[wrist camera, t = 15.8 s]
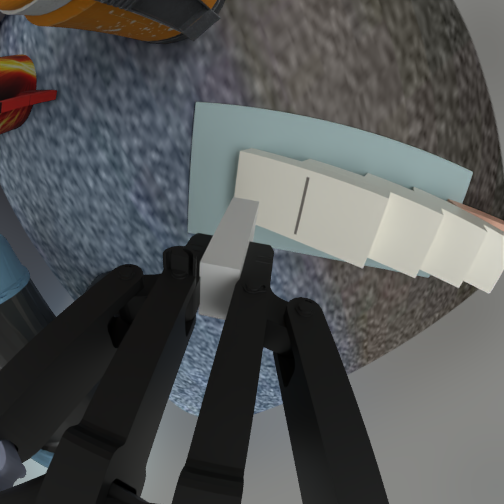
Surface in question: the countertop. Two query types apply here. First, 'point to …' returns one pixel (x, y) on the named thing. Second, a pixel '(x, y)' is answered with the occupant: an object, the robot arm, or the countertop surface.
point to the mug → (18, 91)
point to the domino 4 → (481, 251)
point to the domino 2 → (399, 226)
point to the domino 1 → (312, 204)
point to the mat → (300, 148)
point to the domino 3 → (448, 241)
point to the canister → (123, 16)
